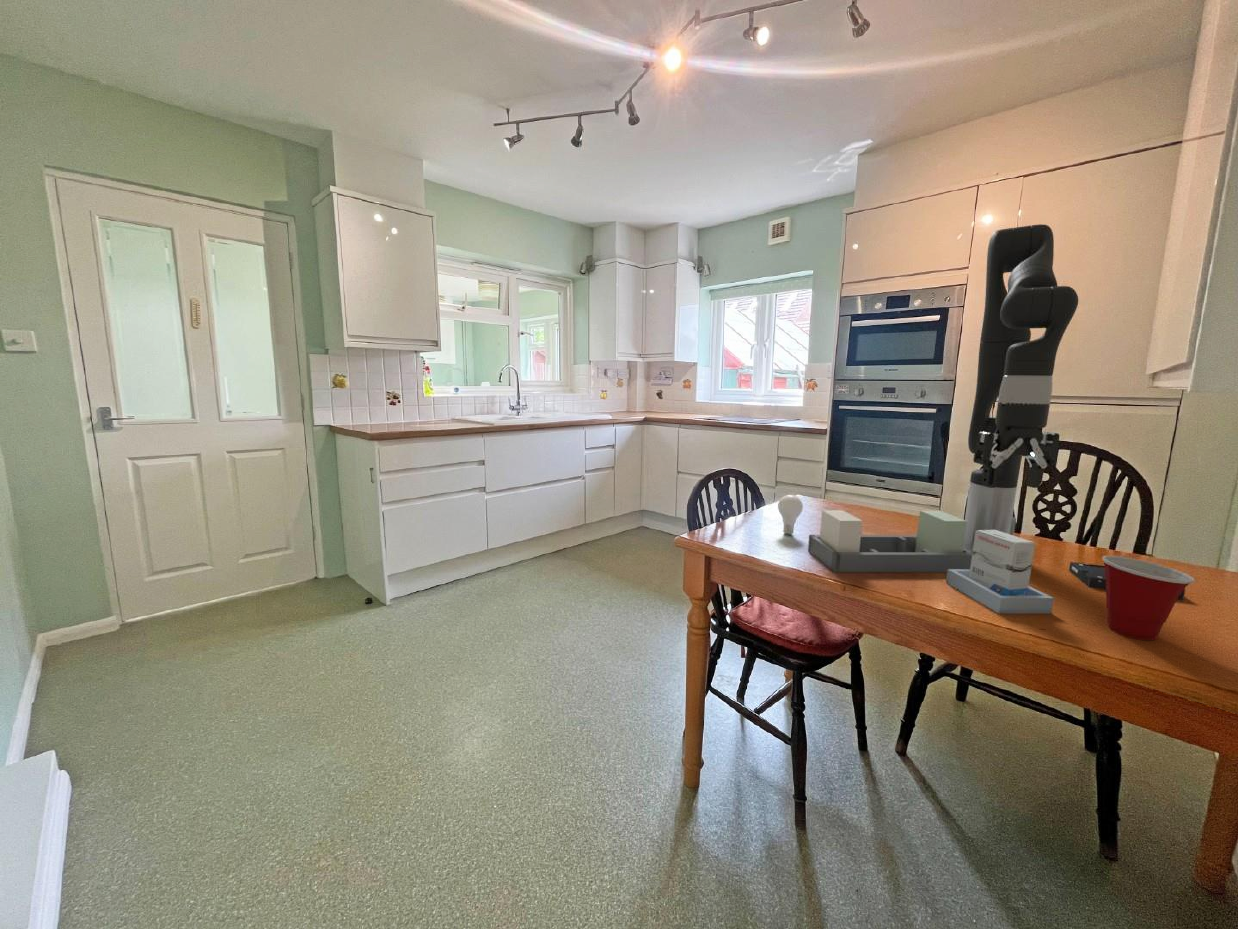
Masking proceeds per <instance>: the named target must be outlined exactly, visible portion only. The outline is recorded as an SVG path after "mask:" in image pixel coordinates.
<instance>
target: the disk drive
mask: <svg viewBox="0 0 1238 929" xmlns="http://www.w3.org/2000/svg"><path fill="white" fill-rule="evenodd" d="M1068 571H1069V572H1070V573H1071V574H1072V575H1074V577H1076V578H1077V579H1078V578H1079V579H1078V580H1079V581H1081V582H1082V583H1083V584H1084V583H1085V584H1084V585H1086V586H1087V587H1088V588H1094V589H1100V590H1106V577H1105V566H1104V565H1098V564H1091V563H1085V562H1074V561H1070V562H1069V568H1068ZM1185 593H1186V588H1185V589H1184V590H1183V591H1182V593H1181V595H1179V597H1178V599H1177V600H1180V601H1183V600H1184V598H1185Z"/></svg>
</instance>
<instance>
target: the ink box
mask: <svg viewBox="0 0 1238 929" xmlns="http://www.w3.org/2000/svg"><path fill="white" fill-rule="evenodd" d="M1035 547H1036V542H1035V541H1031V540H1029V539H1025V538H1022V537H1019V536H1016V535H1014V536H1013V535H1010V534H1007V533H1004V532H1001V531H998V530H978V531H975V538H974V546H973V553H972V560H971V567H970V574H969V578H970V579H972V580H973V581H975V582H977V583H979V584H981V585H983V586H985V587H986V588H988V589H990V590H992V591H994V592H996V593H998V594H999V595H1001V596H1027V592H1028V586H1030V584H1029V583H1030V579H1031V573H1032V567H1033V566H1032V565H1033V559H1034V554H1035Z"/></svg>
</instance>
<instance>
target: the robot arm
mask: <svg viewBox="0 0 1238 929" xmlns="http://www.w3.org/2000/svg"><path fill="white" fill-rule="evenodd" d="M1054 237H1055V236H1054V233H1053V230H1052V228H1051V227H1050V226H1049V225H1047V224H1031V225H1025V226H1017V227H1009V228H1002V229H999V230H995V231H994V232H993V233H992V235H991V237H990V239H989V242H988V246H987V253H986V273H985V274H986V276H985V277H986V279H985V280H986V281H985V297H984V300H985V302H984V312H983V320H982V328H981V331H980V332H981V334H980V340H979V349H978V350H979V351H978V360H977V361H978V363H977V378H976V388H975V397H974V402H973V408H972V413H971V419H970V424H969V430H968V437H967V438H968V440H967V441H968V442H967V445H968V450H969V452H970V453H972V454H973V461H972V462H973V463H976V464H979V465H981V466H982V467H983V468H979V469H975V470H972V472H971V474H970V477H969V478H970V480H969V486H968V495H967V502H966V508H965V509H966V510H965V514H964V515H965V516H964V520H965V521H967V527H966V534H965V541H964V549H967V550H969V551H971V552H973V546H974V538H975V531H978V530H998V531H1001V532H1004V533H1007V534H1010V535H1013V536H1015V527H1016V522H1017V518H1016V517H1015V516H1013V515H1014V508H1015V501H1016V494H1017V488H1018V481H1019V476H1020V469H1021V463H1022V459H1023V458H1025V459H1026V461H1027V462H1028V464H1029V466H1028V470H1027V477H1026V482H1025V484H1026V487H1029V488H1033V489H1038V488H1040V487H1041V486H1040V485H1042V483H1043V476H1044V472H1045V469H1046V468H1047V467H1049V466H1056V464H1057V462H1058V456H1059V455H1058V454H1059V444H1060V434H1059V433H1057V432H1050V431H1049V432H1048V431H1044V432H1043V428H1046V427H1047V425H1048V418H1049V413H1050V406H1051V400H1052V395H1053V394H1052V393H1053V375H1054V369H1055V362H1056V358H1057V357H1056V356H1057V352H1058V349H1059V346H1060V343H1061V342H1062V339H1063V336H1064V334H1065V332H1066V330H1067V327H1068V326H1069V324H1070V323H1071V321H1072V319H1073V317H1074V315H1075V313H1076V311H1077V308H1078V305H1079V296H1078V294H1077V291H1076V290H1075V289H1074V288H1073V287H1071V286H1068V285H1059V286H1058V282H1057V279H1056V276H1055V272H1054V268H1053V265H1054V256H1055V254H1054V252H1055V249H1054V247H1055V246H1054V245H1055V241H1054ZM1005 273H1010V274H1009V276H1008V280H1007V287H1006V284H1005V280H1004V274H1005ZM1007 289H1008V290H1007ZM1031 329H1045V331H1044V333H1043V334H1042V336H1040V337H1039V338H1037V339H1033V340H1031V337H1032V333H1031V332H1032V331H1031ZM996 400H998V401H997V407H996V413H995V414H996V415H995V417H991V415H990V414H991V411H992V408H993V405H994V404H995V402H996Z"/></svg>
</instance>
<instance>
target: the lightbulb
mask: <svg viewBox="0 0 1238 929" xmlns="http://www.w3.org/2000/svg"><path fill="white" fill-rule="evenodd" d="M777 509H778V512H779V514H780V515H781V518H782V522H783V533H784V534H786V535H792V534H794V533H795V532H794V530H795V529H794V528H795V524H796V522H797V519H798V518H799V516H800V515H801V514H802V512H803V509H804V504H803V501H802V500H801V499H800V498H799V497H798V496H796V495H794V494H786V495H784V496H782V497H781V498H780V499H779V501H778V503H777Z"/></svg>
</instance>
